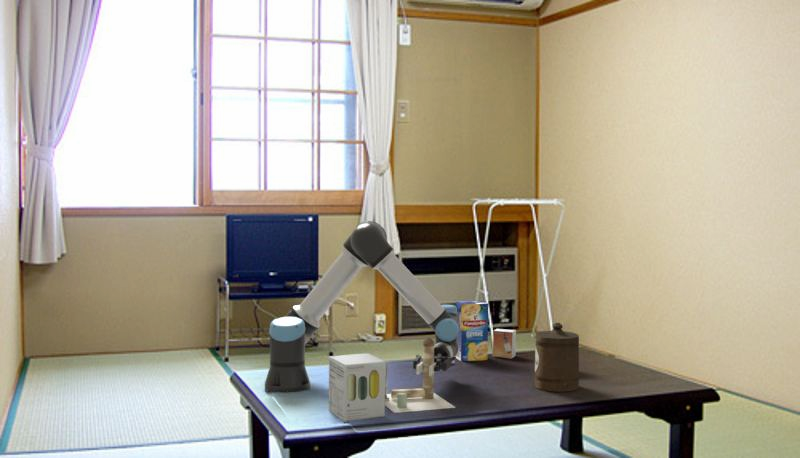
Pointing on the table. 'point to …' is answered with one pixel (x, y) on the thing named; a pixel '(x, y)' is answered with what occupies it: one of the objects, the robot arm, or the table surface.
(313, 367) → the table surface
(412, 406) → the board
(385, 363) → the hinge post
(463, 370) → the table surface
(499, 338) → the small box
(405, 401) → the post
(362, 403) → the supplement box
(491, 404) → the table surface
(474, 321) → the blue tall rectangular box
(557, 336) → the wooden container
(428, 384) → the gate
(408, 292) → the robot arm
